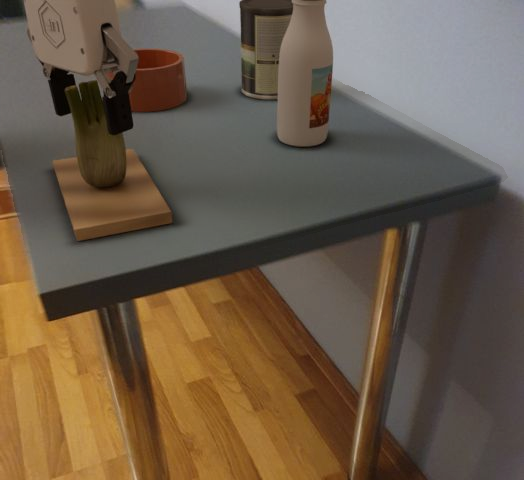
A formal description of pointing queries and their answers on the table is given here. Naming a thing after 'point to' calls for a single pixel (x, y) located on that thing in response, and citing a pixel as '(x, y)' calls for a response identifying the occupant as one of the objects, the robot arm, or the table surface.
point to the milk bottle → (305, 76)
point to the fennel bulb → (95, 137)
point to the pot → (157, 80)
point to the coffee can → (262, 45)
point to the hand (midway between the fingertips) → (94, 121)
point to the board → (111, 200)
